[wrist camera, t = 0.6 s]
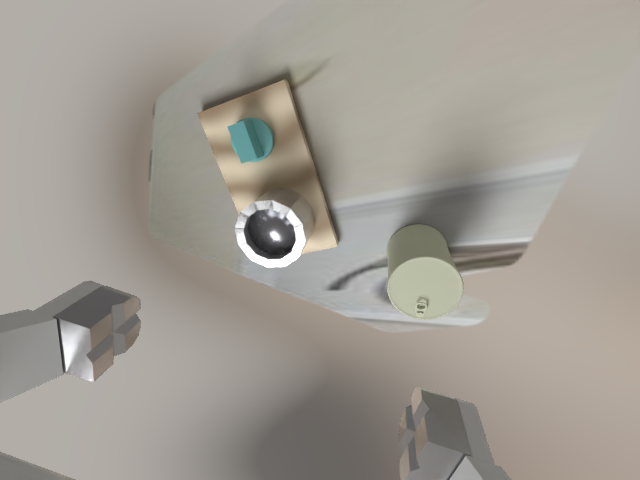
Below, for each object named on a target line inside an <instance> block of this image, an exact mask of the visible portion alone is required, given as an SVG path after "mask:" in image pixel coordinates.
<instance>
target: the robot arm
mask: <svg viewBox="0 0 640 480" xmlns="http://www.w3.org/2000/svg"><path fill="white" fill-rule="evenodd" d="M140 309H141V303H140V299H139V298H138V297H137V296H134V295H131V294H128V293H125V292H122V291H119V290H116V289H114V288H111V287H108V286H104V285H101V284H98V283H95V282H93V281H85V282H83V283H81V284H79V285H77V286H76V287H74V288H72V289H71V290H69V291H67V292H65V293H63V294H62V295H60V296H58V297H57V298H55V299H53V300H51V301H50V302H48V303H46V304H44V305H43V306H41V307H39V308H38V309H36V310H34V311H31V310H23V311H18V312H14V313H9V314H5V315H0V403H1V402H3V401H5V400H8V399H10V398H12V397H14V396H17V395H19V394H21V393H23V392H26V391H28V390H30V389H32V388H35V387H37V386H39V385H41V384H44V383H46V382H48V381H50V380H53V379H55V378H57V377H59V376H62V375H63V373H66V374H69V375H73V376H76V377H79V378H82V379H85V380H89V381H92V382H94V381H95V380H96V379H97V378H99V377H100V376H101V375H102V374H103V373H104V372H105V371H106V370H107V369H108V368H109V367H110V366H111V365H112V364H113V360H114V356H116V355H119V354H122V353H125V352H126V351H127V350H128V349H129V348H130V347H131V346H132V345H133V343H134V342H135V340H136V339H137V337H138V335H139V331H140V328H141V321H140V319H139V317H138V316H137V314H136V313H137V311H139V310H140ZM411 403H412V405H410V406H407V407H405V409H404V412H403V414H402V416H401V420H400V424H399V433H398V437H399V438H398V439H399V446H400V447H401V449H402V451H403V452H404V453H403V455H402V457H401V459H400V461H399V464H400V480H511V479H510V478H509V476H508V475H507V474H506V472H505V471H504V470H503V469H502V468H501V467H500V466H497V465H495V464H494V461H493V458H492V454H491V451H490V448H489V445H488V442H487V439H486V435H485V433H484V429H483V426H482V423H481V420H480V416H479V413H478V410H477V407H476V406H475V405H474V404H473V403H470V402H467V401H463V400H460V399H456V398H452V397H449V396H446V395H443V394H440V393H436V392H433V391H430V390H427V389H424V388H421V387H417V388H416V389H415V390H414V391H413V393H412V395H411ZM0 480H75V479H72V478H69V477H67V476H64V475H61V474H58V473H56V472H53V471H51V470H48V469H45V468H42V467H40V466H37V465H34V464H32V463H29V462H26V461H23V460H21V459H18V458H15V457H13V456H10V455H7V454H5V453H2V452H0Z"/></svg>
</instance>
